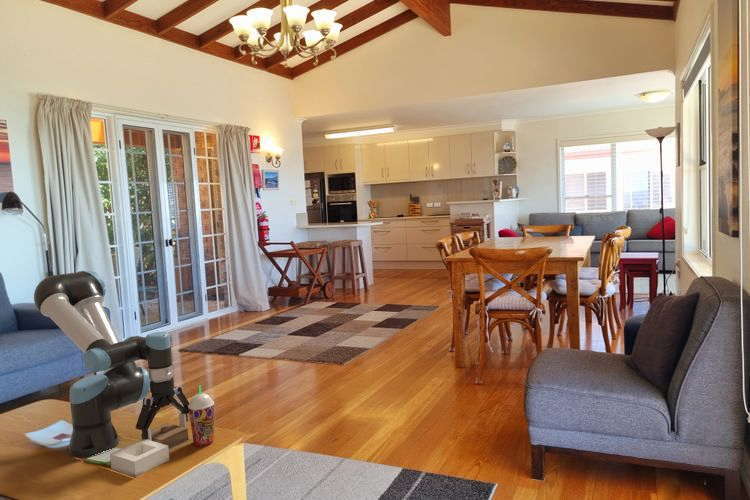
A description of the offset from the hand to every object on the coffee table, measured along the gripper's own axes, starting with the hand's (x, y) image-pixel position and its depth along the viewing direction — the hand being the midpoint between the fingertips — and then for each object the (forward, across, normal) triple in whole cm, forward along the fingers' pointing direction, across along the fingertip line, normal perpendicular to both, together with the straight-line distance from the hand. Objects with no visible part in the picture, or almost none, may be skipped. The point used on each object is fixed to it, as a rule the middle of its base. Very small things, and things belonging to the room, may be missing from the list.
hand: (166, 440), depth 189 cm
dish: (+1, -14, -6) cm, 15 cm away
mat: (+1, 0, 0) cm, 1 cm away
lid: (+1, 0, 0) cm, 1 cm away
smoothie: (+2, +6, -11) cm, 13 cm away
